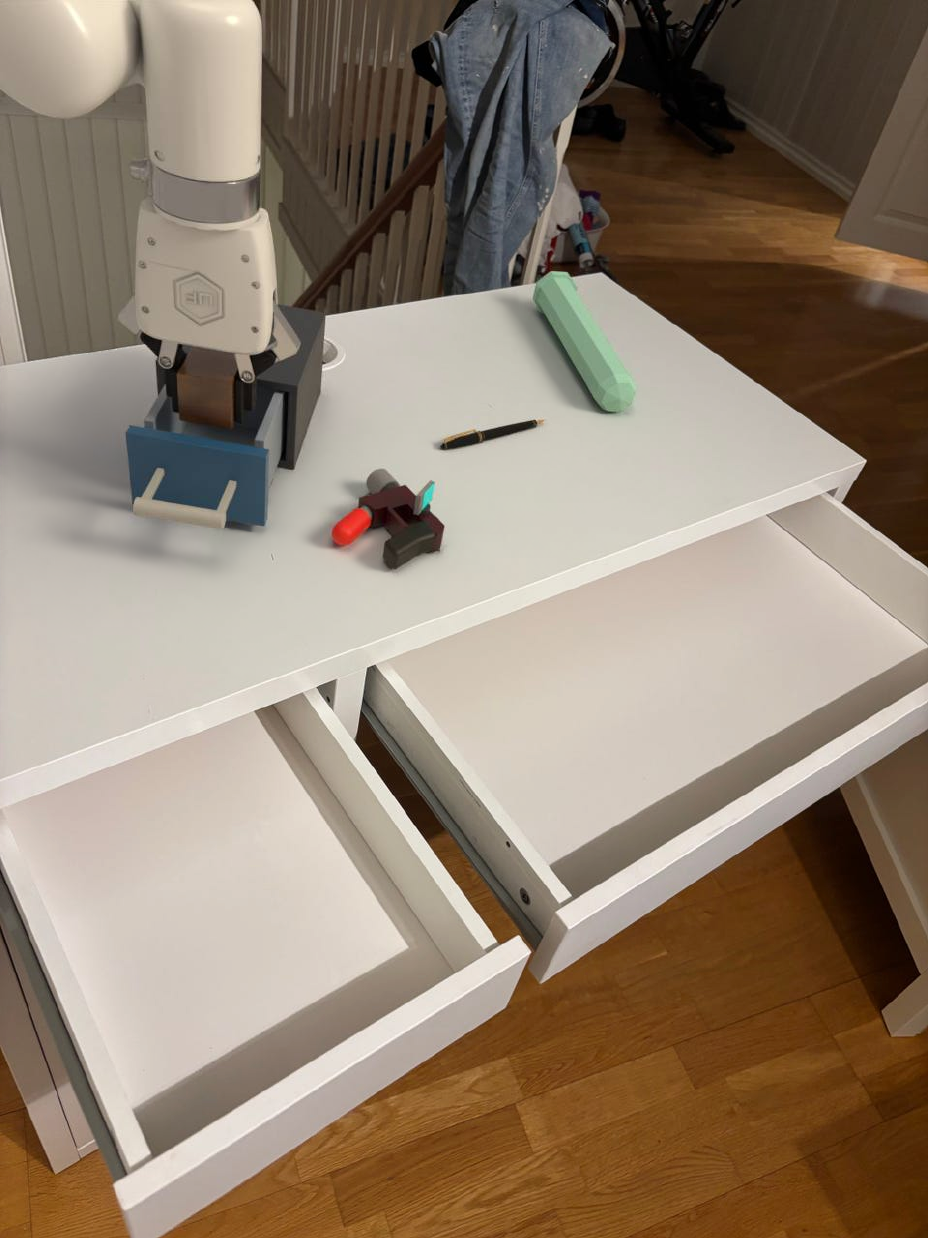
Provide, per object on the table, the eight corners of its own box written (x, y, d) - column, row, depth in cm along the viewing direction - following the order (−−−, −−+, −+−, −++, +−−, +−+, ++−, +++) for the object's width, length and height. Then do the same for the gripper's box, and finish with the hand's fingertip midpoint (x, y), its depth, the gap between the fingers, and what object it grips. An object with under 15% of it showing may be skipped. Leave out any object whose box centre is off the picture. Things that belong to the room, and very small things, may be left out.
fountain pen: (542, 422, 104) (545, 410, 103) (548, 427, 103) (551, 416, 102) (434, 449, 97) (436, 436, 96) (441, 455, 96) (443, 443, 95)
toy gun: (385, 479, 91) (390, 437, 88) (455, 553, 85) (464, 510, 81) (295, 503, 86) (297, 460, 83) (363, 584, 80) (368, 540, 77)
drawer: (249, 569, 78) (249, 498, 73) (109, 546, 77) (100, 472, 72) (294, 441, 92) (297, 375, 87) (177, 421, 91) (173, 352, 86)
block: (178, 420, 78) (176, 373, 75) (193, 393, 81) (191, 347, 78) (231, 429, 78) (231, 383, 75) (244, 402, 82) (244, 356, 79)
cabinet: (293, 470, 90) (297, 385, 84) (160, 446, 89) (155, 360, 83) (320, 392, 100) (325, 312, 94) (202, 371, 100) (199, 289, 93)
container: (643, 369, 103) (572, 263, 119) (592, 386, 103) (528, 278, 119) (647, 412, 107) (578, 304, 124) (598, 428, 107) (535, 318, 124)
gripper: (67, 184, 64) (96, 415, 77) (314, 231, 65) (302, 451, 78) (105, 149, 69) (126, 370, 82) (332, 192, 71) (319, 404, 83)
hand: (212, 407), depth 80 cm, fingers closed on block, 4 cm apart
